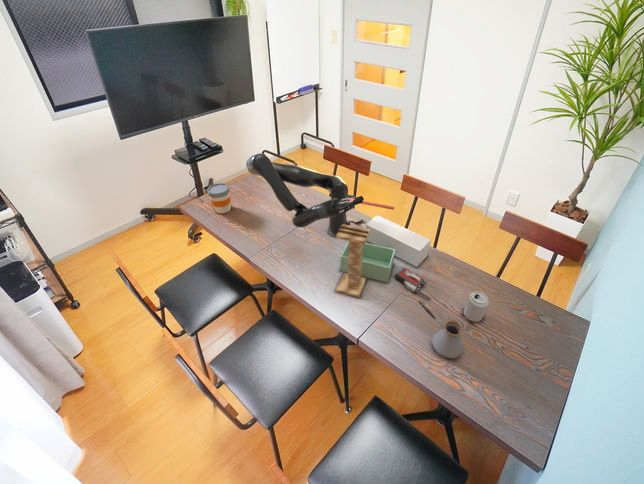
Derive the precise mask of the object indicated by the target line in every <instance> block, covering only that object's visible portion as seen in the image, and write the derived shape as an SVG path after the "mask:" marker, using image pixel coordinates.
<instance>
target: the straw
mask: <svg viewBox="0 0 644 484" xmlns="http://www.w3.org/2000/svg"><path fill="white" fill-rule="evenodd" d="M352 200H355V199H351V198H349V201H352ZM360 204H362V205H366V206H372V207H377V208H382V209H387V210H392V211H393V210H395V207H394V206H392V205H387V204H382V203H377V202H371V201H367V200H363V202H362V203H360Z"/></svg>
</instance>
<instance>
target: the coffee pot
mask: <svg viewBox="0 0 644 484" xmlns="http://www.w3.org/2000/svg"><path fill="white" fill-rule="evenodd" d="M418 304H419V305H420V306H421V308H423V309H424V311H425V312H426V314H428V315H429V316H430V317H431V318H432V319H433V320H434V321H435V322H436V323H437V324H438V325H439V326H440V327H441V329H439V330H438V331H437V332H435V333H434V335H433V336H432V339H431V341H432V346H433V348H434V350H435V351H436V353H437V354H438V355H440V356H442V357H444V358H446V359H456V358H458V357H460V356H461V355H462V354H463V352H464V342H463V339H462V336H461V334H462V333H463V327H462V326H461V323H460V322H458V321H456V320H446V322H444V323H442V322H441V321H440V320H439V319H437V317H436V316H435V314H433V312H431V310H430V309H429V308H428V307H427V306H425V304H423V303H422V301H421V300H419V301H417V302H416V305H418Z"/></svg>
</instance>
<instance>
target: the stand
mask: <svg viewBox="0 0 644 484" xmlns="http://www.w3.org/2000/svg"><path fill="white" fill-rule="evenodd" d="M369 233H370V229H366V227H360V226H354V225H351V224H350V225H346V224H342V225H341V226H340V229H338V233H337V235H336V236H335V238H336V239H338V240H339V239H340V240H343V241H347V242H348V241H349V259H348V273H347V272H343V273H342V275H341V277H340V280H339V282H338V284H337V286H336V289H335V291H336V292H337V293H340V294H344V295H348V296H352V297H355V298H361V294H362V292H363V290H364V286H365V284H366V281H367V277H363V276H362V260H363V244H365V243H367V241H366V240H367V238H368V235H369Z"/></svg>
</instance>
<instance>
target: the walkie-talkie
mask: <svg viewBox="0 0 644 484" xmlns="http://www.w3.org/2000/svg"><path fill="white" fill-rule="evenodd" d="M394 277H395V278H396V279H397V280H399V281H400V282H402V283H403V284H404V285H405V288H406V289H407V290H409V291H411V292H412V293H417V294H419V295H421V296H422V297H424V298H426V299H427V300H430V301H431V300H432V298H431V297H430V296H429V295H427V294H425V293H423V292H422V291H420V288H421V287H422V286H424V285H425V283H426V282H425V278H424V277H422V276H420V275H418V274H417V273H415V272H414V271H411V270H410V269H408V268H406V267H402V269H400V270H399V271H398V272H397V273H395V274H394Z"/></svg>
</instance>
